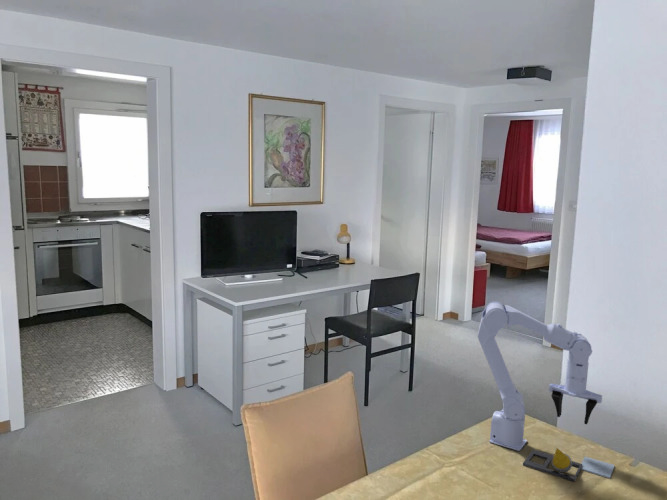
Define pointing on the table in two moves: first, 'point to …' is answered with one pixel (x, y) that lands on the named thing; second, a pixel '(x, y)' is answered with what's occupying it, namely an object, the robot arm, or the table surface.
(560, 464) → the yellow cone
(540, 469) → the rectangular frame
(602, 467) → the mat
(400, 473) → the table surface
